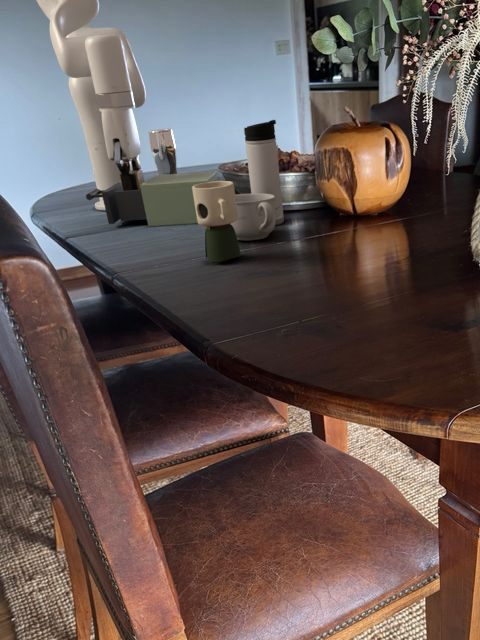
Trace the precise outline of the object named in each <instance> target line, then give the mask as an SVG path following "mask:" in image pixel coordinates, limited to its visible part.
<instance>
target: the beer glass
mask: <svg viewBox="0 0 480 640" xmlns="http://www.w3.org/2000/svg"><path fill="white" fill-rule="evenodd" d="M148 138H149V145H150V151H151V155H152V158H153V161H154V163H155V166H156V169H157V172H158V175H168V174H178V170H177V168H178V167H177V147H176V142H175V137H174V133H173V129H172V128H161V129H160V128H159V129H153V130H149V131H148Z"/></svg>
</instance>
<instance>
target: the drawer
mask: <svg viewBox="0 0 480 640" xmlns="http://www.w3.org/2000/svg"><path fill="white" fill-rule="evenodd" d="M101 193H102V194H101ZM99 197H103V201H104V205H105V210H104V211H105V214H106V218H107V223H108V225H114V224H116V223H117V222H119V221H120V222H127V221H140V220H147V217H146V212H145V207H144V202H143V197H142V192H141V190H128V191H122V187H121V183H117V184H115V185H113V186H112V187H110V188H108V189H106V190H99V189H97V188H95V189H93V190H91V191H90V192H88V193H86V195H85V198H86V200H88V201H91V200H93V199H96V198H99Z"/></svg>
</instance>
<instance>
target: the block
mask: <svg viewBox="0 0 480 640" xmlns="http://www.w3.org/2000/svg"><path fill="white" fill-rule="evenodd" d="M133 174H135V178H136V182H137V187H138V190H141V188H140V185H142V184H143V183H145V182H146V181H145V176H144V171H143V169H141V170H136V171H133ZM119 177H120V174H119ZM120 182H121V177H120ZM121 187H122V182H121ZM122 191H123V187H122Z"/></svg>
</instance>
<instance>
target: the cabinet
mask: <svg viewBox="0 0 480 640" xmlns="http://www.w3.org/2000/svg"><path fill="white" fill-rule="evenodd" d="M212 181H220V180H219V173H218V170H212V171H210V170H209V171H198V172H183V173H177V174H168V175H159V174H157V175H156V174H155V175H154V176H152V177H151V178H150V179H147V180H146V181H145V183H143V184H142V185H140V188H141V192H142V197H143V202H144V207H145V212H146V217H147V219H146V222H147V226H148V227H163V226H176V225H190V224H199V223H198V221H197V215H196V208H195V202H194V197H193V190H192V186H194V185H197V184H200V183H206V182H212Z"/></svg>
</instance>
